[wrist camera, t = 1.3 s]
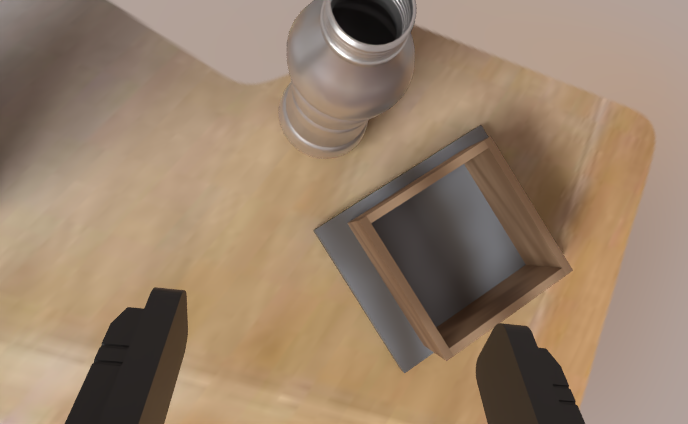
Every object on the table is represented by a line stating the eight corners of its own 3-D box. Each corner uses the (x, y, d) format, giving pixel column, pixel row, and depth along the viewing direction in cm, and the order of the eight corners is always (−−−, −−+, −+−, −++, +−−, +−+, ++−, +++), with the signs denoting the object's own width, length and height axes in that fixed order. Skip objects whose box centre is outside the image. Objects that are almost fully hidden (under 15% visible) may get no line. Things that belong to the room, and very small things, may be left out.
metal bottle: (302, 67, 39) (336, -109, 19) (375, 111, 40) (479, -17, 20) (262, 136, 38) (255, 25, 19) (337, 179, 39) (406, 116, 19)
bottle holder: (400, 369, 39) (424, 392, 33) (313, 230, 39) (321, 228, 32) (555, 259, 41) (605, 262, 35) (474, 128, 41) (510, 108, 35)
